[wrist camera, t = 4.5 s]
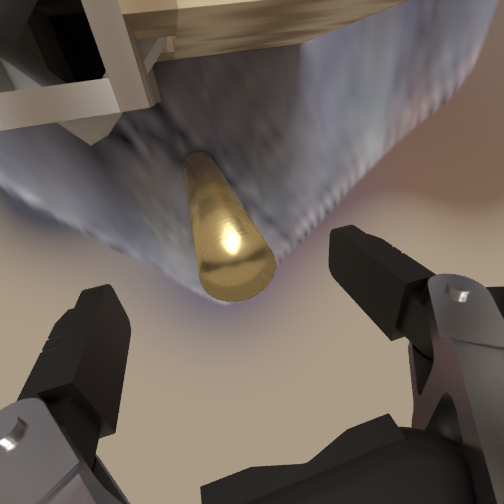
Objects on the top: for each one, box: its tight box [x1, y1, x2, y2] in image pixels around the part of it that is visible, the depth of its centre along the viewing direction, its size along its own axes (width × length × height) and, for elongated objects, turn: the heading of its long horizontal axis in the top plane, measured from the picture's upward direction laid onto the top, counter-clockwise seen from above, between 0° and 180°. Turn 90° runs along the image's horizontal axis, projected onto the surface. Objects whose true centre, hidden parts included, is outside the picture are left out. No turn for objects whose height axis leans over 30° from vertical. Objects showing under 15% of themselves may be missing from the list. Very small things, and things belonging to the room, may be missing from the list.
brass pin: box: [183, 152, 276, 302], centre depth 17 cm, size 3×3×17 cm
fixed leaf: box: [0, 0, 407, 131], centre depth 14 cm, size 19×7×14 cm, turn 98°
